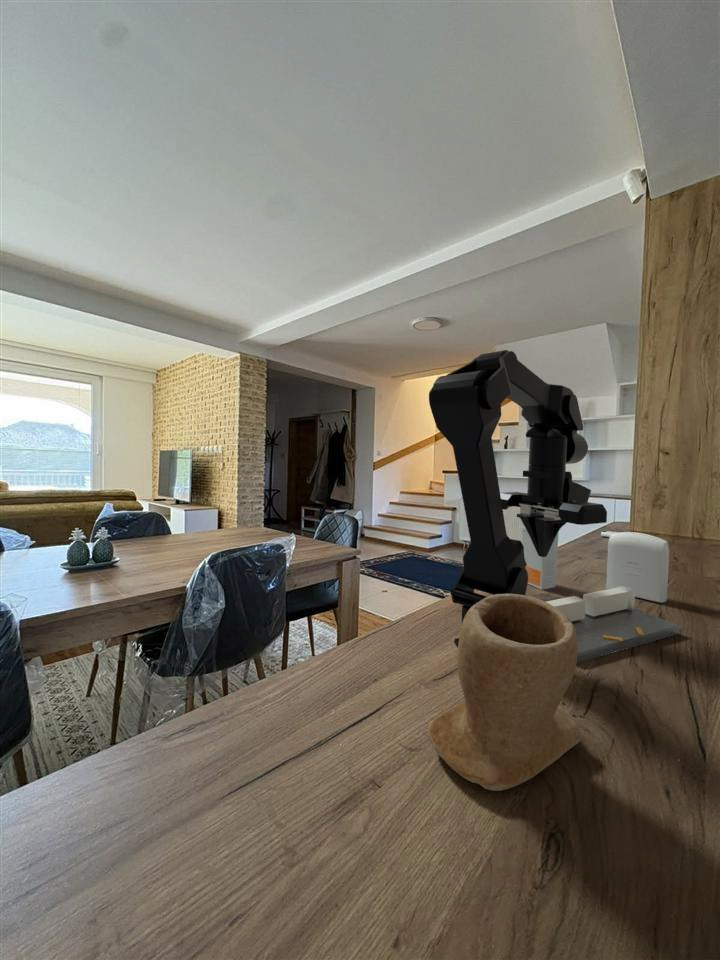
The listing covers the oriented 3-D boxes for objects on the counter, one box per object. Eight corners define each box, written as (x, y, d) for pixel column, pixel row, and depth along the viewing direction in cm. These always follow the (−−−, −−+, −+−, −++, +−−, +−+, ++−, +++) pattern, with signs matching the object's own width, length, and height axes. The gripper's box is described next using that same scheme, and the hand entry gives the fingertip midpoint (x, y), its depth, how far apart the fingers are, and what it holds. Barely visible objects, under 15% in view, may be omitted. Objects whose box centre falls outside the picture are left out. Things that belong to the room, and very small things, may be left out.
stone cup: (509, 839, 31) (517, 646, 30) (411, 741, 41) (414, 594, 40) (620, 762, 39) (630, 606, 37) (514, 695, 49) (519, 570, 48)
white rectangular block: (537, 629, 62) (538, 610, 62) (525, 623, 64) (526, 604, 64) (585, 618, 66) (586, 600, 66) (572, 613, 68) (573, 595, 68)
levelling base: (573, 665, 56) (574, 645, 55) (503, 625, 68) (504, 609, 67) (679, 635, 65) (680, 617, 65) (601, 604, 77) (601, 590, 77)
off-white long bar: (622, 602, 73) (623, 585, 73) (636, 607, 71) (637, 590, 71) (581, 611, 69) (582, 593, 69) (594, 616, 67) (595, 598, 67)
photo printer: (602, 590, 85) (605, 530, 84) (610, 585, 87) (613, 527, 86) (662, 605, 77) (667, 539, 76) (669, 600, 80) (674, 536, 78)
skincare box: (518, 581, 90) (521, 526, 89) (533, 578, 92) (535, 525, 91) (541, 590, 84) (544, 532, 83) (556, 587, 86) (559, 530, 85)
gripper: (633, 467, 65) (627, 566, 66) (538, 462, 82) (535, 540, 83) (583, 468, 60) (577, 574, 61) (493, 463, 77) (490, 545, 79)
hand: (542, 556), depth 71 cm, fingers closed
